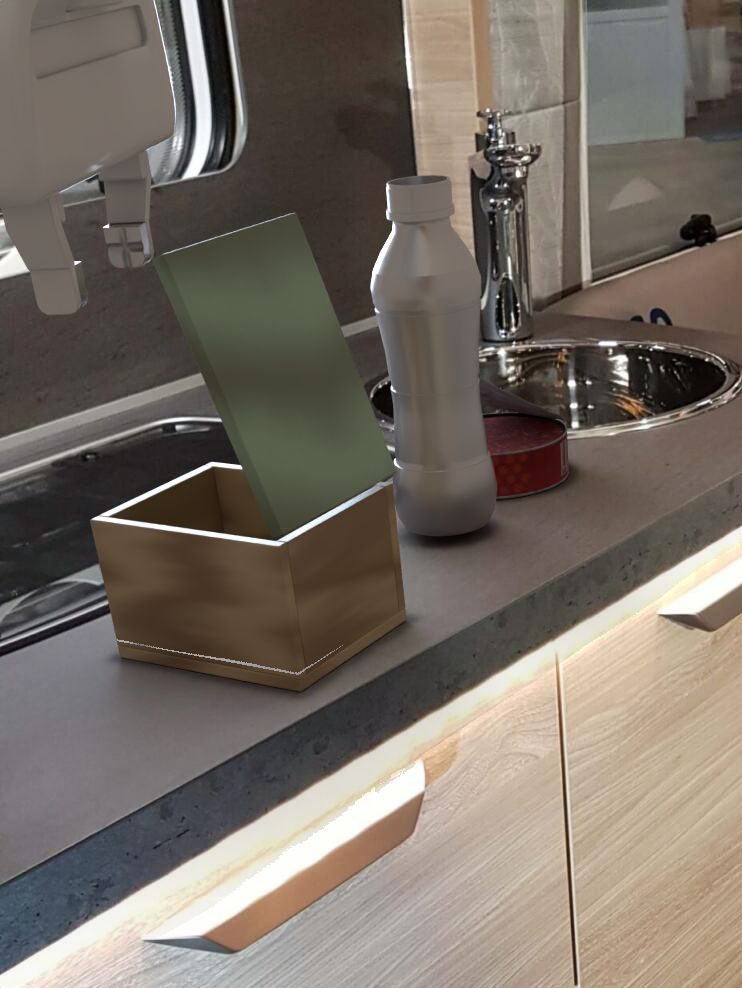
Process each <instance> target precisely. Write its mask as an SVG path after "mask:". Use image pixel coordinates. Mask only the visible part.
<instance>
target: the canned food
mask: <svg viewBox="0 0 742 988" xmlns="http://www.w3.org/2000/svg"><path fill="white" fill-rule="evenodd" d="M478 378H479V381H480V400H481V406H484V407H490V408H495V409H498V410H499V409H500V410H505V411H506V412H505V411H504V412H502V411H501V412H489V413H483V419H484V426H485V432H486V439H487V445H488V449H487V450H488V451H489V452H490V455H491V458H492V462H493V466H494V471H495V476H496V481H497V496H496V500H505V499H513V498H521V497H526V496H530V495H535V494H538V493H542V492H546V491H548V490H551V489H553V488H555V487H557V486H559V485H560V484H562V483H564V482H565V480H566V479H567V478H568V476H569V474H570V469H569V468H570V467H569V445H568V444H569V441H568V427H567V424H566V423H565V422H564V420H566V419H567V417H564V416H562V415H561V414H559V413H556V412H554V411H549V410H548V409H546V408H544V407H543V406H540V405H538V404H534V403H532V402H529V401H527V400H525V399H524V398H522V397H520V396H518V395H517V394H515V393H513V392H510V391H507V390H505V389H503V388H500V387H498V386H497V385H495V384H494V383H492V382H490V381H487V380H486V379H484V378H481V377H479V376H478ZM508 411H509V412H508Z"/></svg>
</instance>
